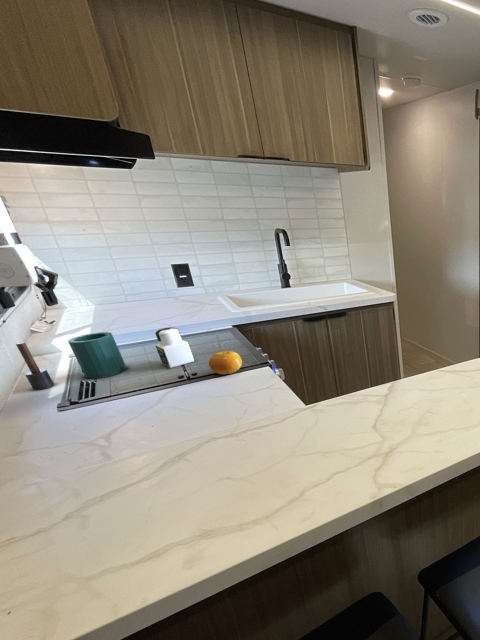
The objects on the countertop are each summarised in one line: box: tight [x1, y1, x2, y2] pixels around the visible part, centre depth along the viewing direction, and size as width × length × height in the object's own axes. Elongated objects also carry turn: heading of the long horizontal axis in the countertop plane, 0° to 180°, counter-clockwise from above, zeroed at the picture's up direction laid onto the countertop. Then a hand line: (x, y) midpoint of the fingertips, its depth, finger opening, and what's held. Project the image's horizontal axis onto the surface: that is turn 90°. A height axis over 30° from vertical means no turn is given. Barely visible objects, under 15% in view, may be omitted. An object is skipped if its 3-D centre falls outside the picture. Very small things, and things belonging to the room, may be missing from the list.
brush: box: [15, 341, 55, 391], centre depth 118 cm, size 4×4×14 cm
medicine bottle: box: [154, 326, 195, 369], centre depth 135 cm, size 7×7×12 cm
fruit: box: [208, 350, 243, 375], centre depth 127 cm, size 8×9×8 cm
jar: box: [67, 331, 127, 379], centre depth 128 cm, size 10×10×12 cm
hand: (31, 306), depth 110 cm, fingers open, 9 cm apart
